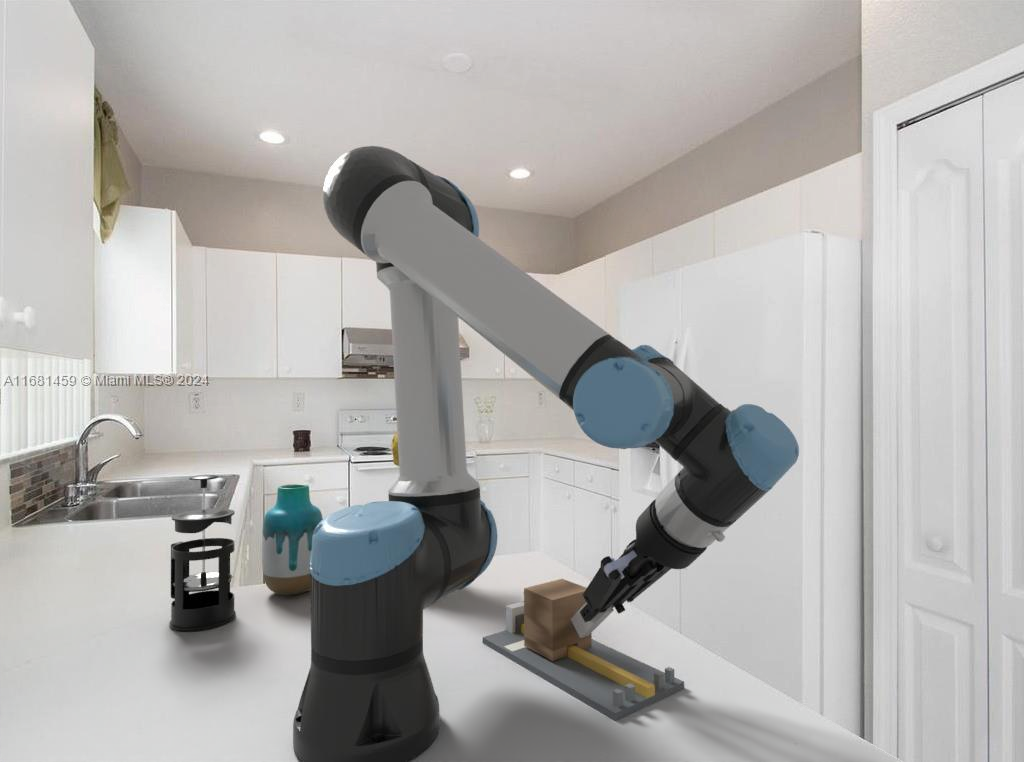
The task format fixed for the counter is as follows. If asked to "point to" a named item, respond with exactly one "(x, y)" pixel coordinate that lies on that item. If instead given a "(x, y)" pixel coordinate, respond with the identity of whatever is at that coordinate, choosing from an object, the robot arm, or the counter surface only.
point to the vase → (289, 540)
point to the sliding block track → (588, 671)
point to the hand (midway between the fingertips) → (579, 627)
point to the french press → (206, 605)
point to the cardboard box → (553, 618)
